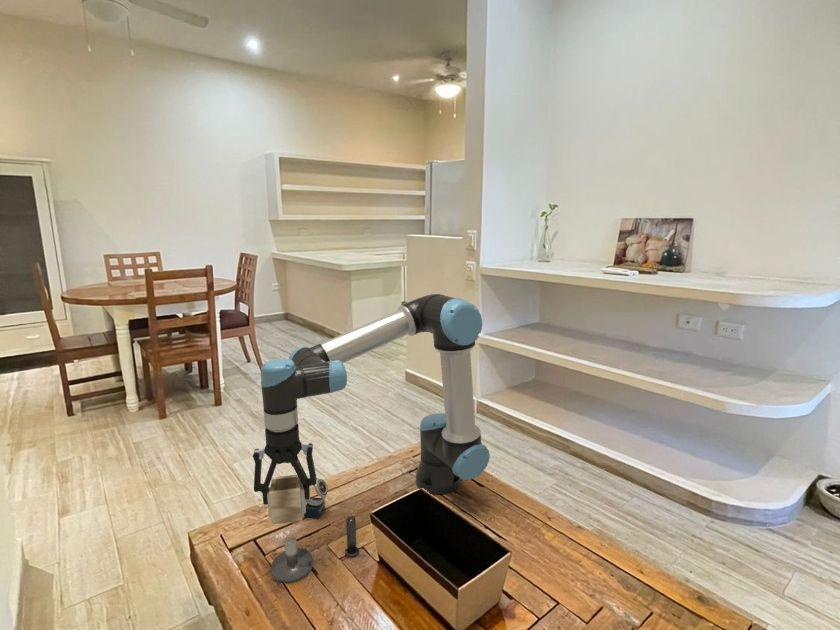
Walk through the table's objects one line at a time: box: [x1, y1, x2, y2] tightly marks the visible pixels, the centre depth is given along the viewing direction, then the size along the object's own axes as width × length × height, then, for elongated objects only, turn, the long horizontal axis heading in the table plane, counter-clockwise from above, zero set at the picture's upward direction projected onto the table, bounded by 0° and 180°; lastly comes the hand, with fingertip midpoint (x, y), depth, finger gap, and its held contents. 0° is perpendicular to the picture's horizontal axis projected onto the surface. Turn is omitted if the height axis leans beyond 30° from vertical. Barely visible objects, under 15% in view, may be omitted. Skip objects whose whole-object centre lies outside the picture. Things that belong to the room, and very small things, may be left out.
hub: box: [270, 537, 314, 584], centre depth 110 cm, size 10×10×8 cm
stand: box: [344, 515, 360, 559], centre depth 115 cm, size 4×4×10 cm
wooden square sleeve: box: [269, 474, 303, 525], centre depth 107 cm, size 7×7×8 cm
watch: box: [303, 477, 329, 520], centre depth 131 cm, size 6×8×11 cm
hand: (287, 512), depth 108 cm, fingers closed on wooden square sleeve, 7 cm apart
